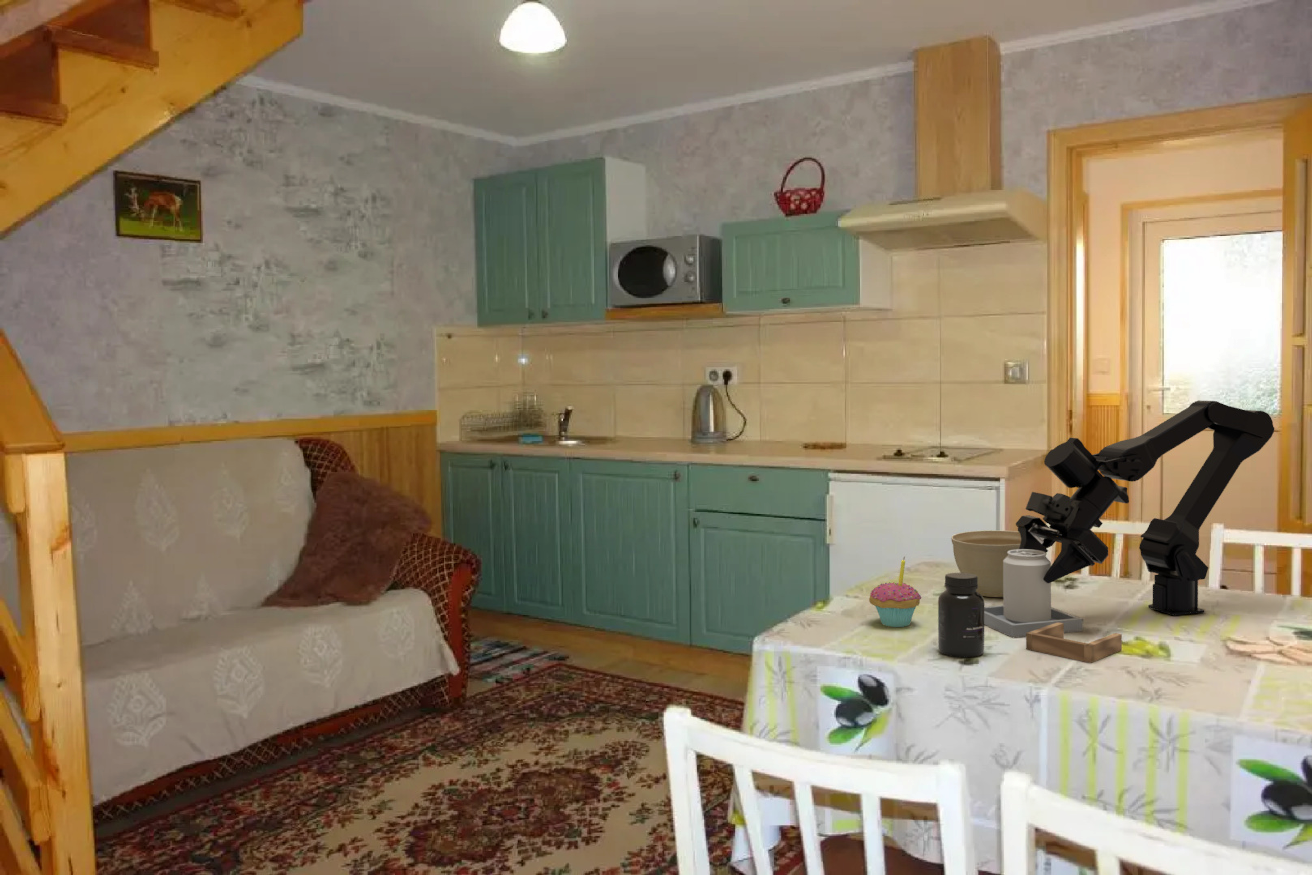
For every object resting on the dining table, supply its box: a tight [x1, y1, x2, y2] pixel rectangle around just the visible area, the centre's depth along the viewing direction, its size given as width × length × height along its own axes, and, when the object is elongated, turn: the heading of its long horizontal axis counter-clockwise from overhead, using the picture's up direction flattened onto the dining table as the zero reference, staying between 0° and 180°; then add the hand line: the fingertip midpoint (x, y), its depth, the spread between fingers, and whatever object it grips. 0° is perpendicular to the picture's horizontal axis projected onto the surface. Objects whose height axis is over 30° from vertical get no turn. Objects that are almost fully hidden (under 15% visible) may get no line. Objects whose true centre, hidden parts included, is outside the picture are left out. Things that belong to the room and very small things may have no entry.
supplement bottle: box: [937, 572, 985, 658], centre depth 157 cm, size 7×7×12 cm
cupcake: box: [868, 555, 922, 628], centre depth 175 cm, size 9×8×12 cm
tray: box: [984, 604, 1084, 638], centre depth 172 cm, size 13×13×2 cm
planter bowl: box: [950, 529, 1021, 598], centre depth 196 cm, size 16×16×11 cm
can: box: [1002, 549, 1052, 624], centre depth 172 cm, size 8×8×12 cm
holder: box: [1025, 622, 1123, 664], centre depth 157 cm, size 9×10×2 cm
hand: (1029, 576), depth 172 cm, fingers open, 9 cm apart
